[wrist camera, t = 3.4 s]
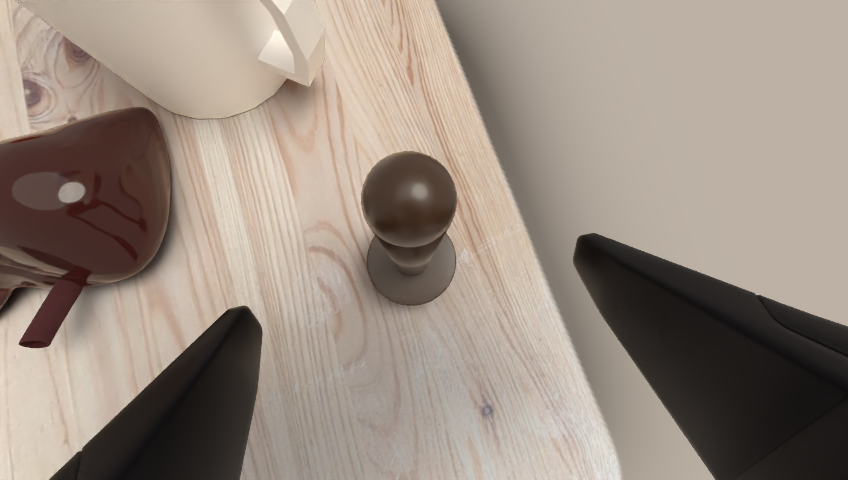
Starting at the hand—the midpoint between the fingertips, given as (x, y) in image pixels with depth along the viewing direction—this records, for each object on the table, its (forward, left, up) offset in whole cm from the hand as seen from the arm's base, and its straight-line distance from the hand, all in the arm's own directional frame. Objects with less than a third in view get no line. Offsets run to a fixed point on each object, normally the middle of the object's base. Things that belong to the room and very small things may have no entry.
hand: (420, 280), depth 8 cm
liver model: (+14, +12, -9) cm, 21 cm away
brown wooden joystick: (+1, -1, -9) cm, 9 cm away
